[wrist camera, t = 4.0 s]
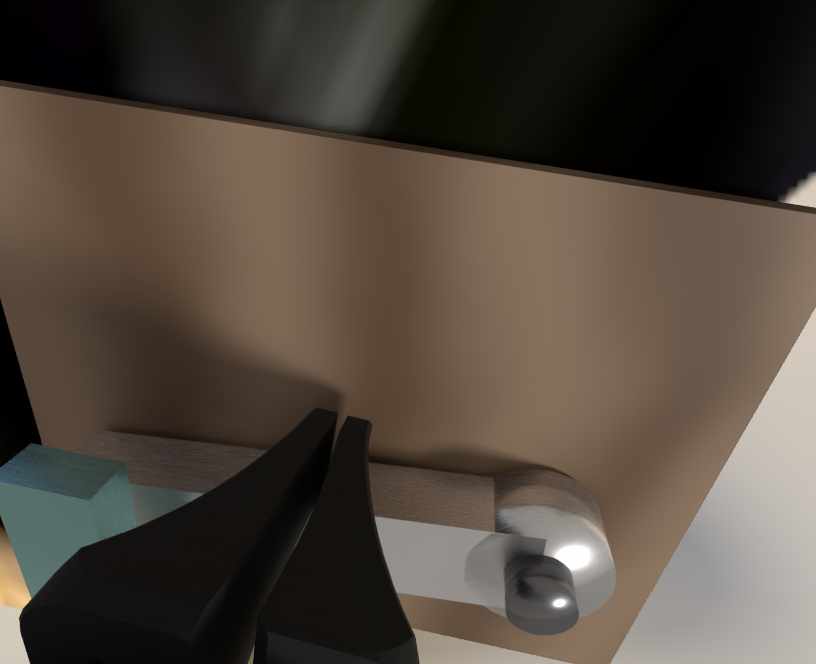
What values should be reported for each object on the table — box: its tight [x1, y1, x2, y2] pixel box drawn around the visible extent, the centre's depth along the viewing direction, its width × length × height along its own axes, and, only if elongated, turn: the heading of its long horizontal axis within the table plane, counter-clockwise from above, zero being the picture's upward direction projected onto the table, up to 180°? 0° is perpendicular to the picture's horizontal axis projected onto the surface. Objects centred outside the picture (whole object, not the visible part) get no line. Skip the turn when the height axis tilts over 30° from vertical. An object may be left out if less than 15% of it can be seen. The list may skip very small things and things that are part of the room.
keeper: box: [0, 443, 137, 598], centre depth 15 cm, size 2×9×5 cm, turn 173°
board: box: [0, 80, 816, 664], centre depth 15 cm, size 21×17×1 cm
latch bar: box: [74, 430, 616, 635], centre depth 14 cm, size 16×4×3 cm, turn 88°
